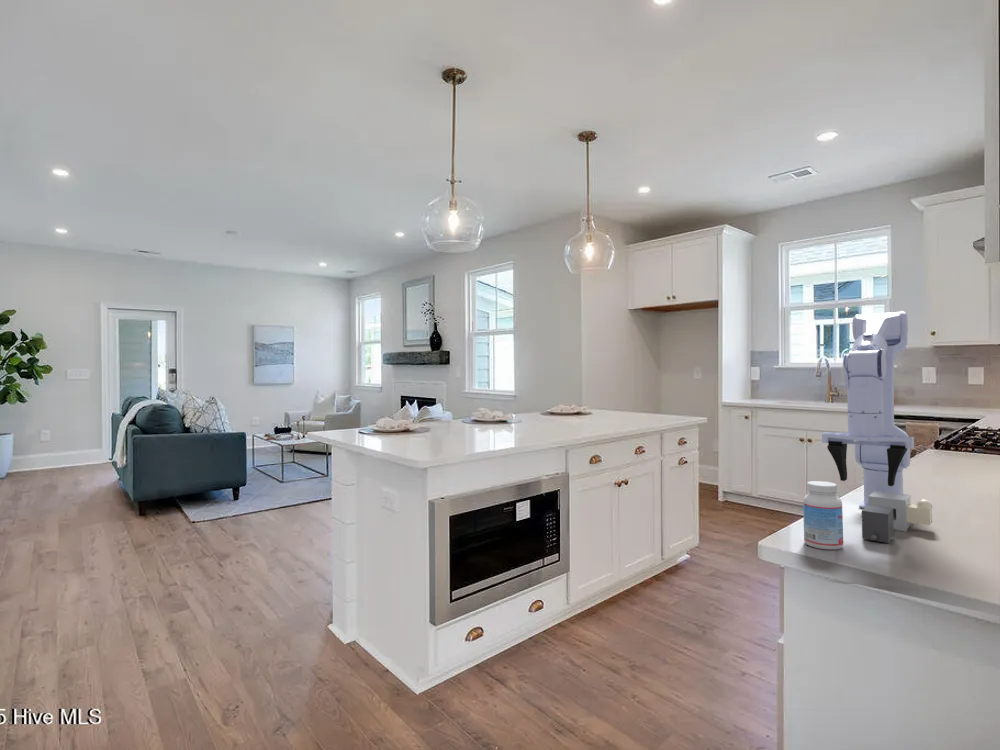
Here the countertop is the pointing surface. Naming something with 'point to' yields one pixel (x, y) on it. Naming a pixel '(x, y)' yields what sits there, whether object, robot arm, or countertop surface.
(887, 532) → the block
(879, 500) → the socket cube
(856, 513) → the countertop surface
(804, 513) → the pill bottle
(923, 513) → the night light
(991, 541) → the countertop surface
